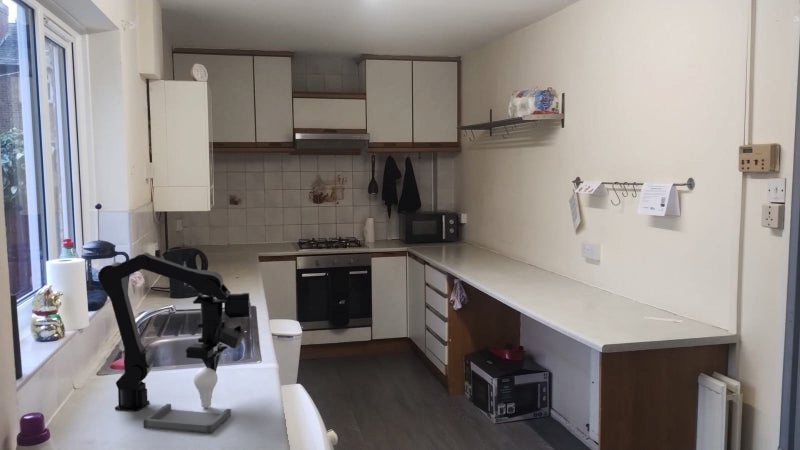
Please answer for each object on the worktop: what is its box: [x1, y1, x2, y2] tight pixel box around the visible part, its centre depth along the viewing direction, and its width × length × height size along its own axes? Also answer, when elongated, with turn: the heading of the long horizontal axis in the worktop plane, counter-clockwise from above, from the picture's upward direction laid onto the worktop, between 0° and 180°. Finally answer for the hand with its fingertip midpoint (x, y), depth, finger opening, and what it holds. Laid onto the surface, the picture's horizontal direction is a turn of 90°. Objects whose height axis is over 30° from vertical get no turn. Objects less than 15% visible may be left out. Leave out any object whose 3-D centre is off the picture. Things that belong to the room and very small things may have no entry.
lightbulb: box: [193, 367, 218, 409], centre depth 167 cm, size 6×6×11 cm
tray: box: [142, 403, 232, 435], centre depth 159 cm, size 18×11×2 cm, turn 80°
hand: (212, 374), depth 171 cm, fingers closed
